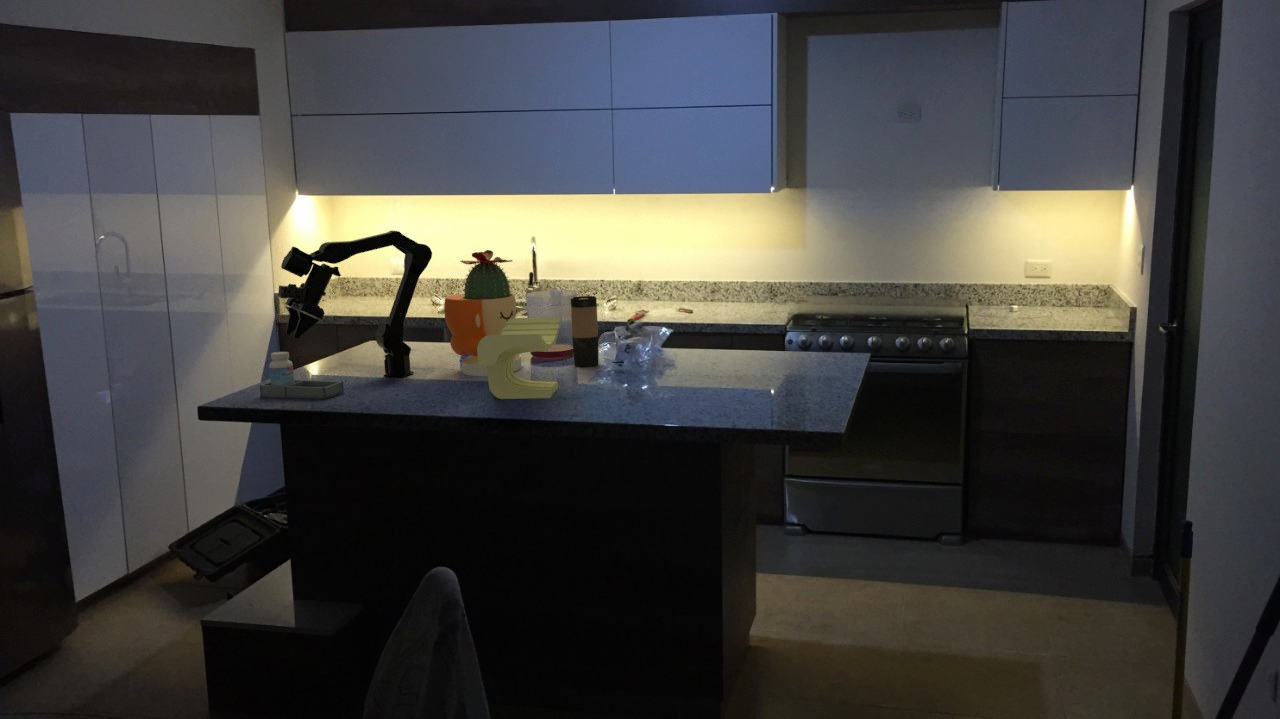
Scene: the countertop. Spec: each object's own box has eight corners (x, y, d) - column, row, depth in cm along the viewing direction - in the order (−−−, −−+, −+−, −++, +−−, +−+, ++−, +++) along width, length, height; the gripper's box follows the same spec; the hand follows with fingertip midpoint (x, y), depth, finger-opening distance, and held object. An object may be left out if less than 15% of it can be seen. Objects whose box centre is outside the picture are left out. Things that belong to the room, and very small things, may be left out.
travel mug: (604, 364, 324) (601, 297, 320) (582, 368, 319) (579, 299, 316) (590, 361, 330) (587, 295, 326) (568, 364, 326) (565, 297, 322)
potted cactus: (529, 362, 333) (523, 246, 326) (508, 376, 311) (501, 252, 305) (461, 362, 336) (454, 248, 330) (436, 376, 315) (427, 254, 309)
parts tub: (343, 392, 296) (342, 381, 296) (325, 399, 288) (324, 387, 288) (280, 390, 303) (279, 379, 302) (260, 396, 295) (259, 385, 295)
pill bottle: (288, 396, 294) (284, 354, 292) (267, 396, 295) (263, 354, 293) (299, 391, 300) (295, 351, 298) (279, 391, 301) (275, 351, 299)
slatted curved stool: (506, 382, 302) (502, 318, 299) (563, 381, 301) (560, 317, 298) (480, 406, 273) (476, 335, 270) (544, 405, 271) (540, 334, 268)
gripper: (280, 269, 307) (256, 320, 305) (297, 274, 291) (271, 327, 289) (317, 286, 313) (293, 336, 311) (335, 291, 297) (310, 344, 295)
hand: (291, 335), depth 301 cm, fingers open, 9 cm apart
